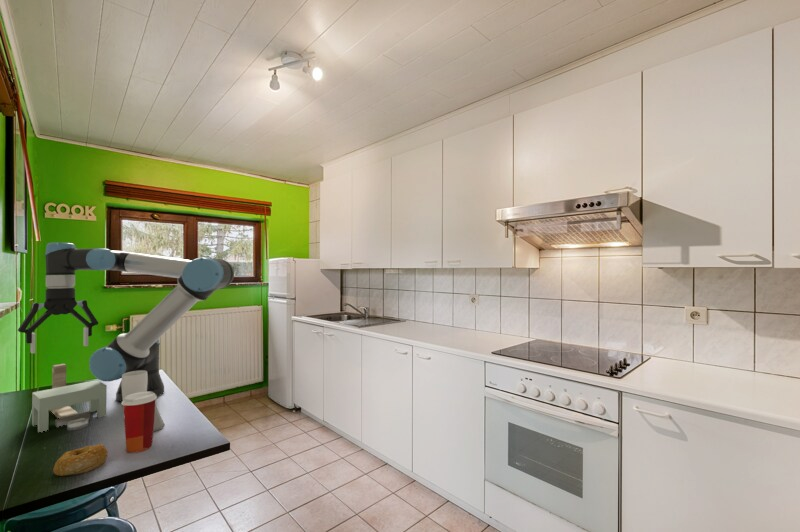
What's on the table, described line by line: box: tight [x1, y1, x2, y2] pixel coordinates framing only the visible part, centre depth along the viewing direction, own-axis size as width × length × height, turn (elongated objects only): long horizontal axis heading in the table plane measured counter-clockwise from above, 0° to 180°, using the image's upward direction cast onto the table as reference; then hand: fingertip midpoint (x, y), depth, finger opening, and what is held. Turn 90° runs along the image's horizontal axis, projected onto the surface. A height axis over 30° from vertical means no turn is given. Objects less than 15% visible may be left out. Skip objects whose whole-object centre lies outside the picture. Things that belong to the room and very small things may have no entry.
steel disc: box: [66, 418, 90, 432], centre depth 112 cm, size 5×5×2 cm
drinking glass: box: [120, 370, 148, 410], centre depth 117 cm, size 7×7×15 cm
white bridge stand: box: [31, 379, 108, 433], centre depth 117 cm, size 10×16×10 cm, turn 144°
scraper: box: [49, 363, 91, 428], centre depth 121 cm, size 20×8×16 cm, turn 54°
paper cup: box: [120, 391, 158, 454], centre depth 98 cm, size 8×8×14 cm
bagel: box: [52, 443, 109, 477], centre depth 89 cm, size 10×11×5 cm
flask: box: [153, 394, 165, 433], centre depth 110 cm, size 7×7×10 cm
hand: (60, 349), depth 126 cm, fingers open, 13 cm apart
